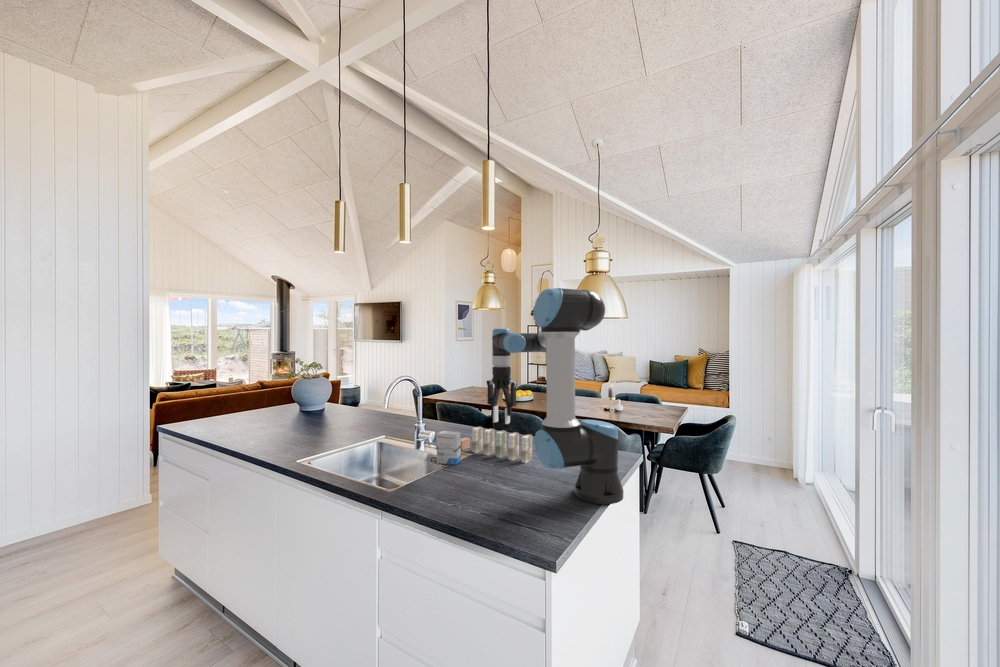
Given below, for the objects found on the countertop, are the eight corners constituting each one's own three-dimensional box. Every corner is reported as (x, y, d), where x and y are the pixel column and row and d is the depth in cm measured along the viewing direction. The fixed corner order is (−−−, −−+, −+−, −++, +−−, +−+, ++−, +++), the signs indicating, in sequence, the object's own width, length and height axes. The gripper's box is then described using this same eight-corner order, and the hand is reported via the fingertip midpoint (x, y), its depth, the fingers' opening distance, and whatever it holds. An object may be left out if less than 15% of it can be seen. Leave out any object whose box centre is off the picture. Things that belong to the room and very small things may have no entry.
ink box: (461, 461, 163) (461, 431, 163) (456, 465, 158) (456, 435, 158) (441, 459, 166) (441, 430, 166) (435, 463, 161) (435, 433, 161)
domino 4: (512, 460, 165) (512, 435, 164) (508, 459, 166) (508, 434, 165) (518, 457, 169) (519, 432, 169) (514, 456, 170) (514, 432, 170)
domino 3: (500, 458, 168) (500, 433, 168) (495, 457, 169) (495, 432, 169) (506, 454, 172) (506, 430, 172) (502, 454, 173) (502, 430, 173)
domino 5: (526, 463, 161) (526, 437, 161) (521, 462, 162) (521, 437, 162) (532, 459, 166) (532, 435, 165) (527, 459, 167) (527, 434, 166)
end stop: (462, 450, 178) (462, 441, 178) (456, 449, 179) (456, 440, 179) (469, 447, 182) (469, 438, 182) (464, 446, 184) (464, 437, 184)
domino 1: (475, 453, 174) (476, 429, 174) (472, 452, 175) (472, 428, 175) (482, 450, 178) (482, 427, 178) (478, 449, 179) (478, 426, 179)
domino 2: (487, 455, 171) (487, 431, 171) (483, 454, 172) (483, 430, 172) (494, 452, 175) (494, 429, 175) (490, 451, 176) (490, 428, 176)
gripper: (525, 366, 168) (525, 423, 168) (488, 364, 178) (488, 418, 178) (515, 367, 162) (516, 426, 162) (478, 365, 172) (478, 421, 171)
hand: (501, 422), depth 170 cm, fingers open, 5 cm apart
